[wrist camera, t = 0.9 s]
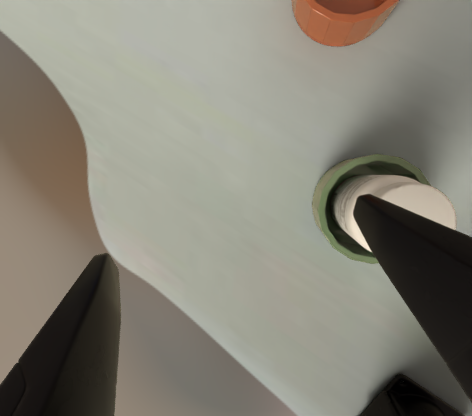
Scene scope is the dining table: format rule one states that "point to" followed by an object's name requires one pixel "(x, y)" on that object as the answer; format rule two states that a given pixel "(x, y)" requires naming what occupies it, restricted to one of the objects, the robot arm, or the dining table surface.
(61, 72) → the dining table surface
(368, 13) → the terracotta cup
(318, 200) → the green cup
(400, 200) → the pill bottle
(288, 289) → the dining table surface
